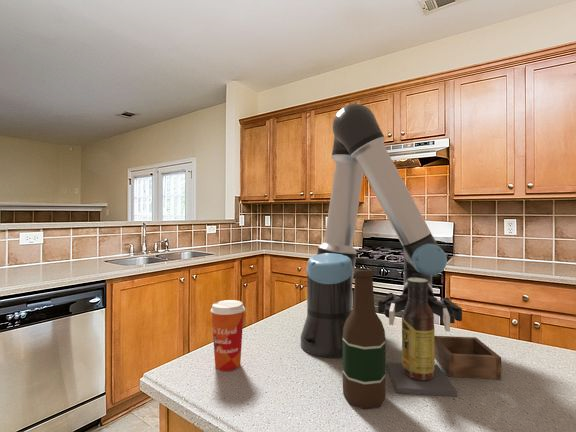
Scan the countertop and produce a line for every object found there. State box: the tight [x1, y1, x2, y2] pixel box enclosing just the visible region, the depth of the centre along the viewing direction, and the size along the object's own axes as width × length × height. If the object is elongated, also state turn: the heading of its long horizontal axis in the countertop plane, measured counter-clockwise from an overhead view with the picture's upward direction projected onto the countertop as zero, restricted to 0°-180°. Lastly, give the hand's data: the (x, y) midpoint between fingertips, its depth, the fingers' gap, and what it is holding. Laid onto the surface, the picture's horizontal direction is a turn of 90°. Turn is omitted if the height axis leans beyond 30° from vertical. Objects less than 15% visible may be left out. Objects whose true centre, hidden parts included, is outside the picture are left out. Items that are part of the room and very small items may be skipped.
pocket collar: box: [434, 335, 502, 380], centre depth 74 cm, size 10×11×4 cm
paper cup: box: [210, 299, 246, 372], centre depth 74 cm, size 8×8×14 cm
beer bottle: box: [342, 267, 387, 410], centre depth 61 cm, size 8×8×24 cm
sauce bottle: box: [401, 278, 436, 380], centre depth 67 cm, size 7×6×20 cm
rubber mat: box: [386, 361, 458, 397], centre depth 67 cm, size 11×11×1 cm
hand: (418, 321), depth 63 cm, fingers open, 9 cm apart
